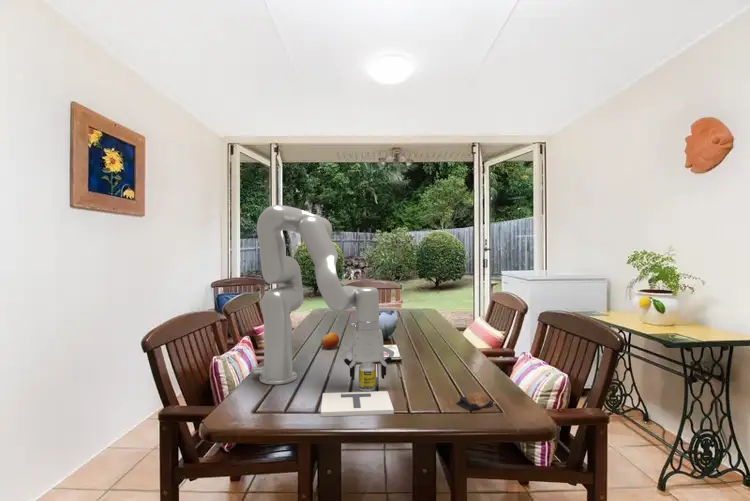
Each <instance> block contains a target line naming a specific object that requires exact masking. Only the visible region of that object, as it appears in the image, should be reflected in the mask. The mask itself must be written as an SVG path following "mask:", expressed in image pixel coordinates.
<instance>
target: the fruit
mask: <svg viewBox="0 0 750 501" xmlns="http://www.w3.org/2000/svg"><path fill="white" fill-rule="evenodd" d="M320 343H321V346H322V347H323V348H324V349H325V350H334V349H337V347H338V348H339V346H338V345H339V343H340V337H339V335H338V334H337V333H336V332H329V333H327V334H325V335H323V336H322V338H321V342H320Z"/></svg>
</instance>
